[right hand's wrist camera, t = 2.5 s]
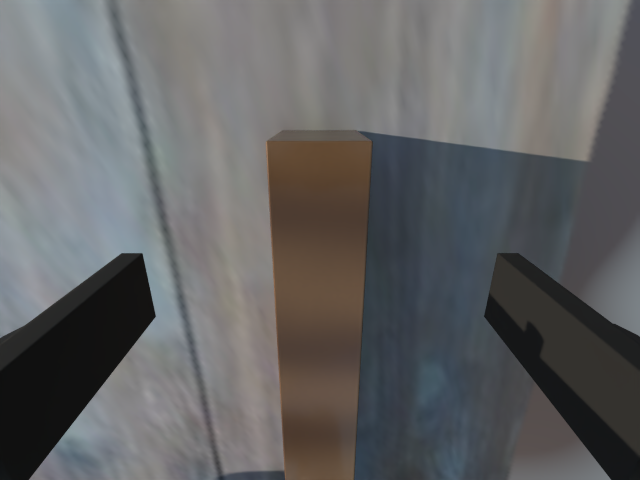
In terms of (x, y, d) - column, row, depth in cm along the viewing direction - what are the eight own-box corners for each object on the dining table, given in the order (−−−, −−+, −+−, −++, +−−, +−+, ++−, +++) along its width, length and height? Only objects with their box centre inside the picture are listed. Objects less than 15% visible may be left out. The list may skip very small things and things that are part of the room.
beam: (281, 130, 24) (265, 141, 17) (357, 130, 24) (372, 141, 17) (300, 591, 46) (296, 680, 39) (339, 591, 46) (343, 680, 39)
